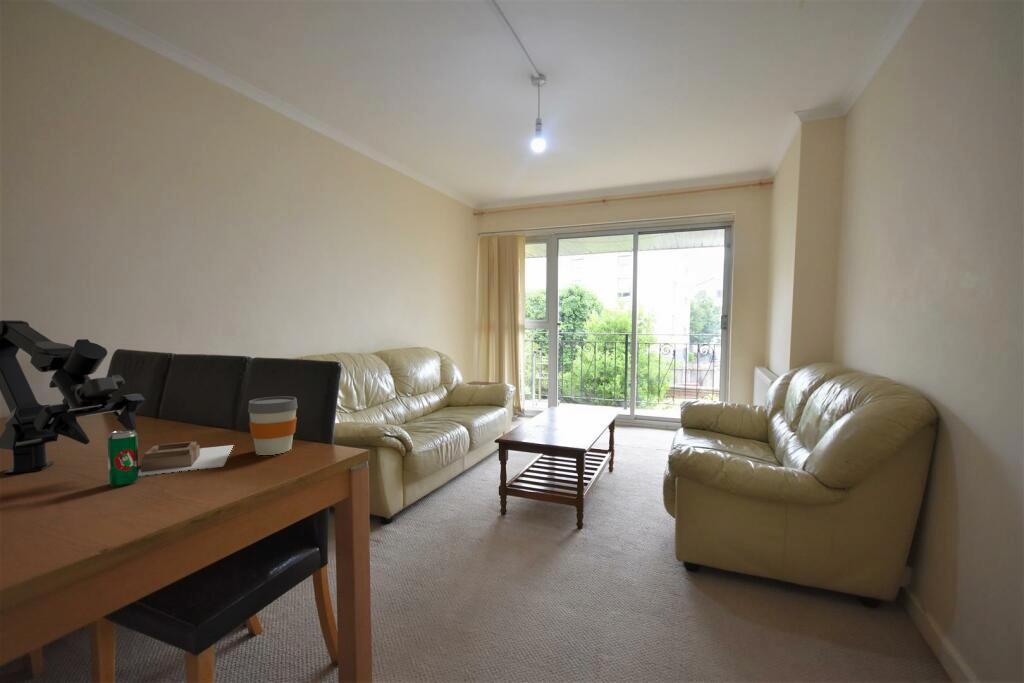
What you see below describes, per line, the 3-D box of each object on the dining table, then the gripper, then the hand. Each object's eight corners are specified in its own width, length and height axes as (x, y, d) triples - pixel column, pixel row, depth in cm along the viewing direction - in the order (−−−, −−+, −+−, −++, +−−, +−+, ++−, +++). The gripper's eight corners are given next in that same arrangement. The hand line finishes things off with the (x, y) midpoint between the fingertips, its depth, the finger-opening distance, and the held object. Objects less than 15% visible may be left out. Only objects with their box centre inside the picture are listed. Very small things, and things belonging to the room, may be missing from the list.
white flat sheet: (157, 454, 119) (157, 452, 119) (233, 446, 127) (233, 444, 127) (132, 477, 101) (132, 475, 101) (223, 466, 109) (223, 464, 109)
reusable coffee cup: (307, 449, 125) (306, 398, 124) (264, 460, 114) (263, 405, 114) (282, 443, 131) (281, 395, 131) (239, 453, 121) (238, 401, 120)
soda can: (116, 480, 99) (115, 429, 99) (143, 478, 101) (141, 428, 100) (103, 488, 94) (101, 435, 94) (131, 486, 96) (129, 433, 95)
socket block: (153, 462, 112) (153, 444, 112) (199, 457, 117) (199, 440, 117) (141, 474, 104) (140, 455, 103) (191, 468, 108) (191, 449, 108)
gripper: (39, 368, 90) (77, 423, 87) (138, 361, 108) (172, 407, 105) (17, 404, 92) (53, 458, 90) (117, 391, 110) (150, 436, 108)
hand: (112, 437), depth 98 cm, fingers open, 9 cm apart
